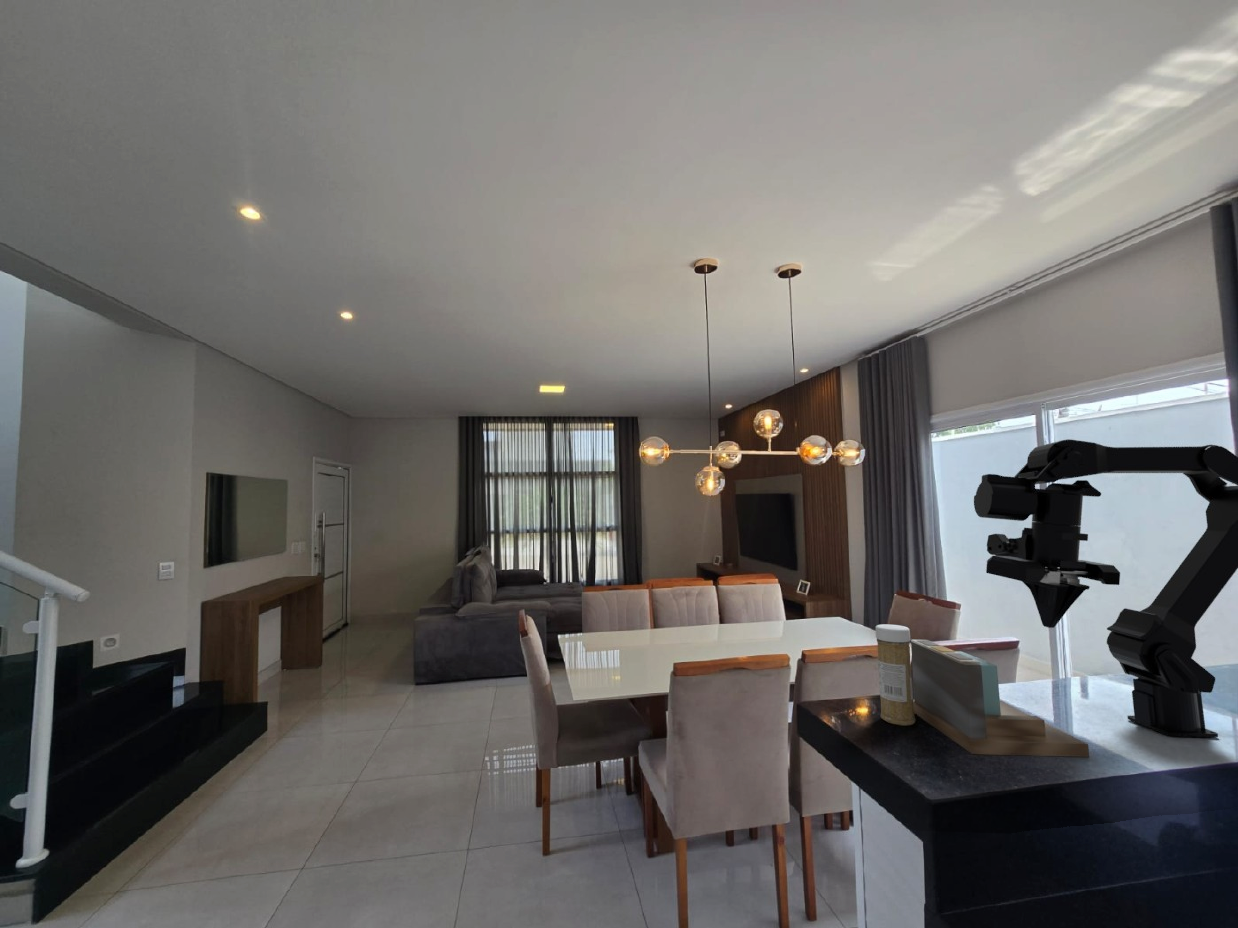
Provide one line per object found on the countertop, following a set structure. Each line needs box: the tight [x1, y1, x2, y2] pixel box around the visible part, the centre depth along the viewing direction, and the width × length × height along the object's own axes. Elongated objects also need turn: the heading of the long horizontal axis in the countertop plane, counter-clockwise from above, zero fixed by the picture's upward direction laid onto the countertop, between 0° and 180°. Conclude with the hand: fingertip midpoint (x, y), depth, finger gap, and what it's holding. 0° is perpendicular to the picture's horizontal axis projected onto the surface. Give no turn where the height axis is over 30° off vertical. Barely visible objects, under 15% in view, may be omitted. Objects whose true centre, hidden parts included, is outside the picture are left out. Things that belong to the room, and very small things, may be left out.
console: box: [910, 639, 1090, 758], centre depth 74 cm, size 14×16×11 cm
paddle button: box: [954, 650, 1001, 715], centre depth 74 cm, size 3×8×8 cm, turn 177°
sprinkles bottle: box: [875, 623, 916, 727], centre depth 77 cm, size 5×5×13 cm
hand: (1048, 626), depth 79 cm, fingers closed
